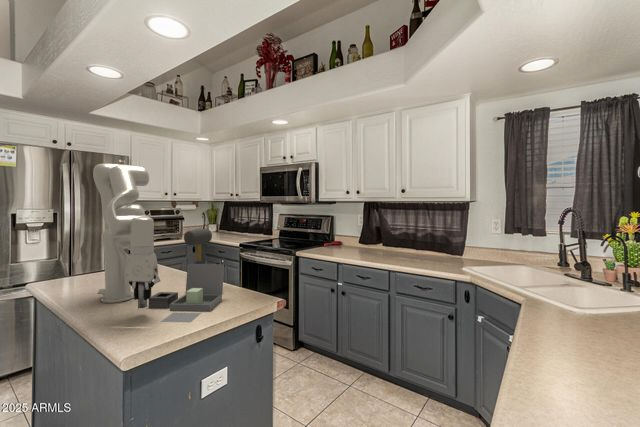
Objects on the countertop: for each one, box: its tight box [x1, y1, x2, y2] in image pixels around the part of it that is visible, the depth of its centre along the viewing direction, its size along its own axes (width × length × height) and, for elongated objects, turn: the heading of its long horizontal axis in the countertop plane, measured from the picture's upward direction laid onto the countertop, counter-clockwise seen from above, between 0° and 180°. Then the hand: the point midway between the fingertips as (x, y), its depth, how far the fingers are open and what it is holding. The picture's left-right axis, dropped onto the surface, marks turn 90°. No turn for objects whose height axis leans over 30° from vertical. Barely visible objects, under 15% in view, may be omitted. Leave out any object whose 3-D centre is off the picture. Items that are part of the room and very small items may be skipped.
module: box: [185, 288, 203, 304], centre depth 124 cm, size 4×5×7 cm
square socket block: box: [147, 291, 179, 309], centre depth 126 cm, size 8×8×4 cm
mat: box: [160, 312, 202, 323], centre depth 113 cm, size 11×9×1 cm
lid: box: [185, 263, 225, 296], centre depth 134 cm, size 16×13×1 cm
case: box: [169, 293, 223, 312], centre depth 126 cm, size 16×13×3 cm
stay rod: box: [137, 282, 148, 309], centre depth 115 cm, size 3×3×10 cm
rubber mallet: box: [183, 228, 213, 264], centre depth 148 cm, size 12×8×30 cm, turn 159°
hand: (142, 298), depth 115 cm, fingers closed on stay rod, 3 cm apart
